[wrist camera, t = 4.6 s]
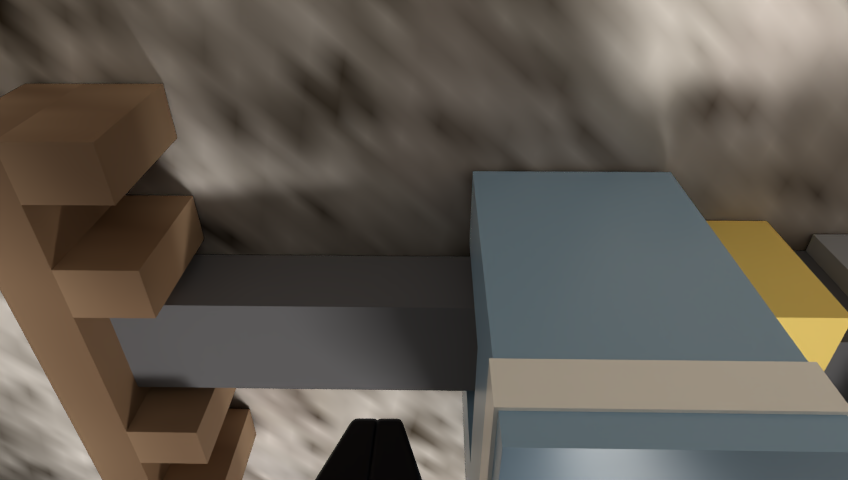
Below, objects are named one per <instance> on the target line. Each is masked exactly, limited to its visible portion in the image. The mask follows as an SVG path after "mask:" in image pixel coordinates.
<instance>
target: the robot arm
mask: <svg viewBox="0 0 848 480" xmlns="http://www.w3.org/2000/svg"><path fill="white" fill-rule="evenodd" d="M315 480H422V479H421V476H420V473H419V470H418V467H417V464H416V461H415V458H414V455H413V452H412V449H411V446H410V443H409V440H408V437H407V434H406V431H405V428H404V425H403V423H402V421H401V420H400V419H379V420H376V419H355V420H353V421H352V422H351V423H350V425H349V426H348V428H347V430H346V431H345V433H344V434H343V436H342V438H341V439H340V441H339V442H338V444H337V446H336V447H335V449H334V450H333V452H332V454H331V455H330V457H329V458H328V460H327V462H326V463H325V465H324V466H323V468H322V470H321V471H320V473H319V475H318V476H317V478H316V479H315Z"/></svg>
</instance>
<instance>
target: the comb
mask: <svg viewBox="0 0 848 480" xmlns="http://www.w3.org/2000/svg"><path fill="white" fill-rule="evenodd" d="M176 139H177V135H176V131H175V128H174V124H173V120H172V116H171V113H170V109H169V105H168V101H167V98H166V94H165V90H164V86H163V84H23V85H22V86H20V87H18V88H16V89H14V90H13V91H11V92H9V93H7V94H6V95H4V96H2V97H0V290H1V292H2V294H3V296H4V298H5V299H6V301H7V303H8V305H9V307H10V309H11V311H12V312H13V314H14V316H15V318H16V320H17V322H18V324H19V326H20V327H21V329H22V331H23V333H24V335H25V337H26V339H27V340H28V342H29V344H30V346H31V348H32V350H33V352H34V353H35V355H36V357H37V359H38V361H39V363H40V365H41V366H42V368H43V370H44V372H45V374H46V376H47V378H48V379H49V381H50V383H51V385H52V387H53V389H54V391H55V392H56V394H57V396H58V398H59V400H60V402H61V404H62V405H63V407H64V409H65V411H66V413H67V415H68V417H69V418H70V420H71V422H72V424H73V426H74V428H75V430H76V431H77V433H78V435H79V437H80V439H81V441H82V443H83V444H84V446H85V448H86V450H87V452H88V454H89V456H90V457H91V459H92V461H93V463H94V465H95V467H96V469H97V470H98V472H99V474H100V476H101V478H102V480H242V478H243V475H244V471H245V468H246V465H247V462H248V459H249V456H250V452H251V449H252V446H253V443H254V440H255V436H256V432H255V428H254V424H253V421H252V417H251V413H250V409H228V408H229V406H230V403H231V400H232V398H233V395H234V392H235V390H236V388H197V387H138V385H137V383H136V381H135V378H134V376H133V373H132V371H131V369H130V366H129V364H128V361H127V359H126V357H125V354H124V352H123V349H122V347H121V345H120V342H119V340H118V337H117V335H116V333H115V330H114V328H113V325H112V323H111V321H110V318H156V317H157V315H158V314H159V312H160V311H161V309H162V307H163V306H164V304H165V302H166V301H167V299H168V297H169V296H170V294H171V292H172V291H173V289H174V287H175V286H176V284H177V283H178V281H179V279H180V278H181V276H182V274H183V273H184V271H185V269H186V268H187V266H188V264H189V263H190V261H191V259H192V258H193V256H194V255H195V253H196V251H197V250H198V248H199V246H200V245H201V243H202V241H203V240H204V237H203V233H202V229H201V225H200V221H199V218H198V214H197V210H196V206H195V203H194V199H193V196H154V195H125V194H126V193H127V192H128V191H129V190H130V189H131V188H132V187H133V186H134V185H135V184H136V182H137V181H138V180H139V179H140V178H141V177H142V176H143V175H144V174H145V173H146V172H147V170H148V169H149V168H150V167H151V166H152V165H153V164H154V163H155V162H156V161H157V160H158V158H159V157H160V156H161V155H162V154H163V153H164V152H165V151H166V150H167V149H168V147H169V146H170V145H171V144H172V143H173V142H174V141H175V140H176Z"/></svg>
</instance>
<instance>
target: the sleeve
mask: <svg viewBox="0 0 848 480" xmlns="http://www.w3.org/2000/svg"><path fill="white" fill-rule="evenodd" d="M469 244H470V256H471V269H472V282H473V294H474V307H475V320H476V332H477V345H478V350H477V366H476V382H475V391H463V395H462V403H463V426H464V449H465V472H466V480H848V403H847V402H846V401H845V399H844V398H843V397H842V395H841V394H840V393H839V391H838V390H837V388H836V387H835V386H834V384H833V383H832V382H831V380H830V379H829V378H828V376H827V375H826V374H825V372H824V371H823V370H822V368H821V367H820V366H819V364H818V363H817V362H808V361H807V359H806V358H805V357H804V355H803V354H802V352H801V351H800V350H799V348H798V347H797V346H796V344H795V343H794V341H793V340H792V339H791V337H790V336H789V335H788V333H787V332H786V330H785V329H784V328H783V326H782V325H781V323H780V322H779V321H778V319H777V318H776V317H775V315H774V314H773V312H772V311H771V310H770V308H769V307H768V306H767V304H766V303H765V301H764V300H763V299H762V297H761V296H760V295H759V293H758V292H757V290H756V289H755V288H754V286H753V285H752V284H751V282H750V281H749V279H748V278H747V277H746V275H745V274H744V273H743V271H742V270H741V268H740V267H739V266H738V264H737V263H736V262H735V260H734V259H733V257H732V256H731V255H730V253H729V252H728V251H727V249H726V248H725V246H724V245H723V244H722V242H721V241H720V239H719V238H718V237H717V235H716V234H715V233H714V231H713V230H712V228H711V227H710V226H709V224H708V223H707V222H706V220H705V219H704V217H703V216H702V215H701V213H700V212H699V211H698V209H697V208H696V206H695V205H694V204H693V202H692V201H691V200H690V198H689V197H688V195H687V194H686V193H685V191H684V190H683V189H682V187H681V186H680V184H679V183H678V182H677V180H676V179H675V178H674V176H673V175H672V173H671V172H520V171H473V177H472V199H471V221H470V242H469Z"/></svg>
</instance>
